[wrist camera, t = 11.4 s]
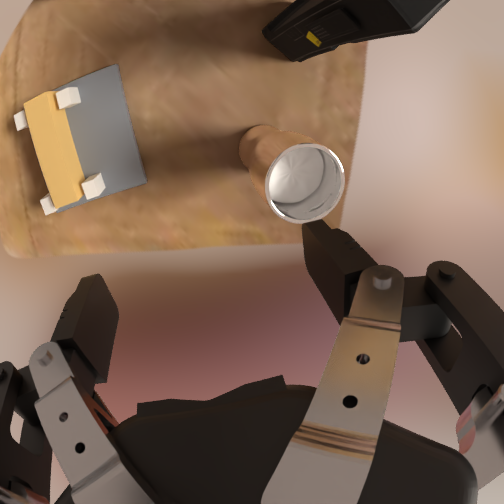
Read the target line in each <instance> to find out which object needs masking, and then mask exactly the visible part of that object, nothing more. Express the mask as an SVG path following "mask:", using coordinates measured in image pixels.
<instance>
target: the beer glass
mask: <svg viewBox="0 0 504 504" xmlns="http://www.w3.org/2000/svg"><path fill="white" fill-rule="evenodd" d="M239 156H240V159H241V161H242V163H243V164H244V165H245V166H246V167H247V168H248V169H249V173H250V177H251V181H252V183H253V185H254V187H255V189H256V191H257V192H258V194H259V195H260V196H261V198H262V199H263V200H264V201H265V202H266V203H267V204H268V205H269V206H270V207H271V209H272V210H273V211H274V212H275V213H276V214H277V215H278V216H279V217H281V218H282V219H284V220H286V221H289V222H292V223H298V224H303V223H306V222H310V221H314V220H319V219H321V218H323V217H324V216H326V215H327V214H328V213H330V212H331V211H332V210H333V209H334V207H335V206H336V205H337V203H338V202H339V200H340V198H341V196H342V193H343V189H344V183H345V176H344V170H343V167H342V164H341V162H340V160H339V159H338V157H337V156H336V155H335V154H334V153H333V152H332V151H331V150H329V149H328V148H326V147H324V146H323V145H321V144H320V143H318V142H317V141H315V140H314V139H312V138H310V137H308V136H306V135H303V134H300V133H297V132H292V131H280V130H279V129H277V128H275V127H273V126H270V125H259V126H255V127H253V128H251V129H249V130H248V131H247V132H246V133H245V134H244V135H243V137H242V139H241V141H240V144H239Z"/></svg>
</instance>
